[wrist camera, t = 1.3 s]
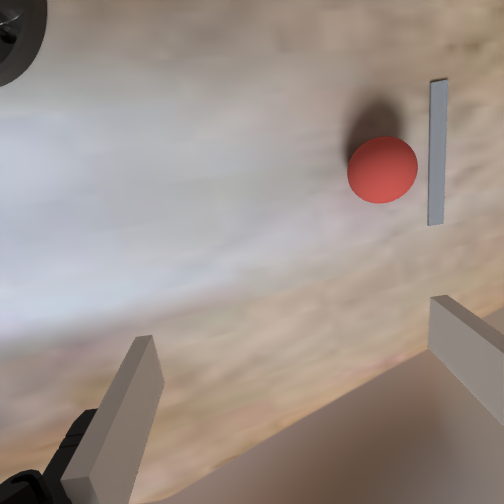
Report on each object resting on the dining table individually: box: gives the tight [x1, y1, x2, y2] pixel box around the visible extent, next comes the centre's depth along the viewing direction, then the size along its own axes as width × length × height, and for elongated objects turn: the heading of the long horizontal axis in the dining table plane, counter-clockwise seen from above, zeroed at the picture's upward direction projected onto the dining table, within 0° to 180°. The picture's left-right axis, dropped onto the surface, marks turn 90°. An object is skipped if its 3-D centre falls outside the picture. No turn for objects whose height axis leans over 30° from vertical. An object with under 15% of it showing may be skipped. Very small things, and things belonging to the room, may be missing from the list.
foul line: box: [428, 80, 448, 226], centre depth 32 cm, size 14×2×1 cm, turn 9°
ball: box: [347, 136, 418, 203], centre depth 29 cm, size 6×6×6 cm
